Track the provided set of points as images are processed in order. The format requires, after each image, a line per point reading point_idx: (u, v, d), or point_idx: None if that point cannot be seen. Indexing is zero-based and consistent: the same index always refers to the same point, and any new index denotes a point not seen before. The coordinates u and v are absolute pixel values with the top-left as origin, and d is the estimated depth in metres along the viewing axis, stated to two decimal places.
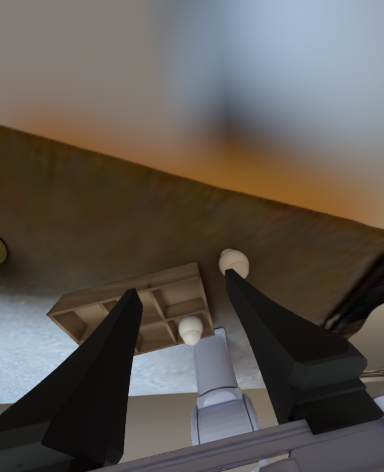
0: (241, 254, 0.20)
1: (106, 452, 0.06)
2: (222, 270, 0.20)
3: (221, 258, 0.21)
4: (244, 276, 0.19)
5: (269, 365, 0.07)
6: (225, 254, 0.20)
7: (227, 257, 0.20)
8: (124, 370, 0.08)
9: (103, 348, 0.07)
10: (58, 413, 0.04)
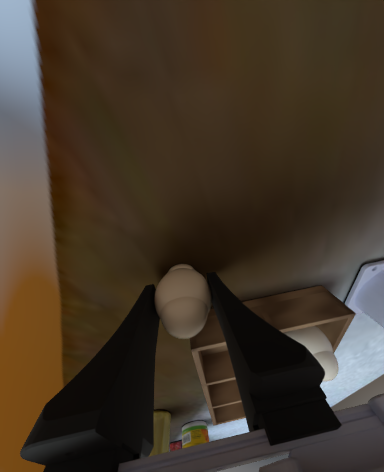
0: (156, 295, 0.10)
1: (141, 444, 0.06)
2: None
3: None
4: (187, 327, 0.08)
5: (238, 372, 0.07)
6: None
7: None
8: (149, 364, 0.08)
9: (133, 341, 0.07)
10: (106, 402, 0.04)
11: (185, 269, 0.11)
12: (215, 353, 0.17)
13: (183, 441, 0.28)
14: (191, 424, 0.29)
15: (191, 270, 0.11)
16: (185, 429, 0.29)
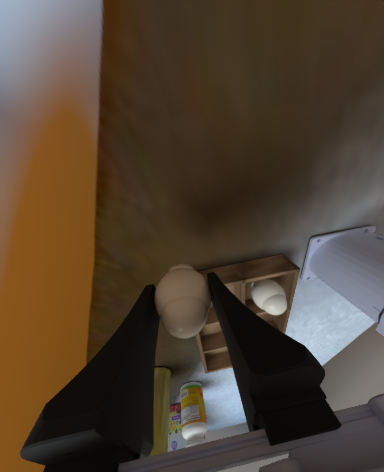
0: (156, 295, 0.10)
1: (141, 444, 0.06)
2: None
3: None
4: (187, 327, 0.08)
5: (238, 372, 0.07)
6: None
7: None
8: (149, 364, 0.08)
9: (133, 341, 0.07)
10: (105, 402, 0.04)
11: (185, 269, 0.11)
12: None
13: (181, 397, 0.34)
14: (188, 383, 0.35)
15: (191, 270, 0.11)
16: (183, 388, 0.35)
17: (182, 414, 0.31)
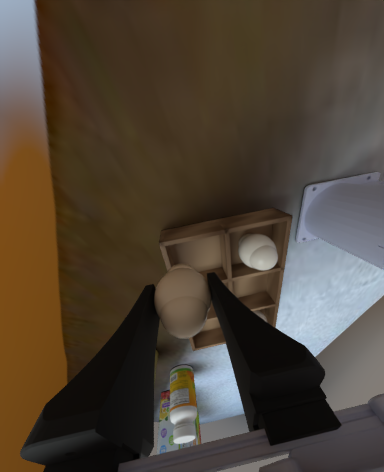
0: (155, 295, 0.10)
1: (141, 444, 0.06)
2: None
3: None
4: (187, 327, 0.08)
5: (238, 372, 0.07)
6: None
7: None
8: (149, 364, 0.08)
9: (133, 341, 0.07)
10: (105, 402, 0.04)
11: (185, 269, 0.11)
12: None
13: (170, 381, 0.32)
14: (178, 367, 0.33)
15: (191, 270, 0.11)
16: (172, 371, 0.32)
17: (170, 398, 0.29)
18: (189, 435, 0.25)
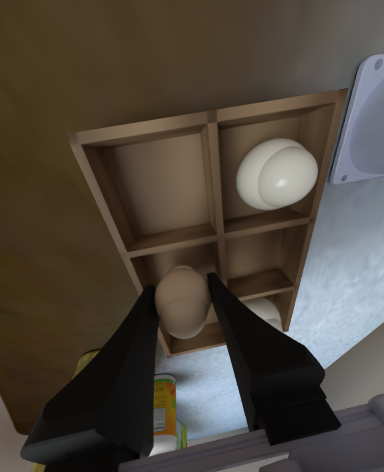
0: (156, 295, 0.10)
1: (141, 444, 0.06)
2: None
3: None
4: (187, 327, 0.08)
5: (238, 372, 0.07)
6: None
7: None
8: (149, 364, 0.08)
9: (133, 341, 0.07)
10: (105, 402, 0.04)
11: (185, 269, 0.11)
12: (154, 233, 0.12)
13: None
14: (155, 377, 0.24)
15: (191, 270, 0.11)
16: None
17: None
18: None
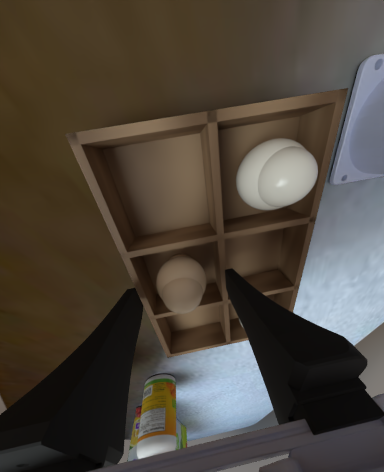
0: (157, 278, 0.11)
1: (106, 452, 0.06)
2: None
3: None
4: (184, 302, 0.10)
5: (269, 365, 0.07)
6: None
7: None
8: (124, 370, 0.08)
9: (103, 348, 0.07)
10: (58, 413, 0.04)
11: (183, 256, 0.12)
12: (154, 233, 0.12)
13: (143, 396, 0.23)
14: (155, 377, 0.24)
15: (188, 257, 0.12)
16: (147, 383, 0.24)
17: (140, 422, 0.21)
18: None
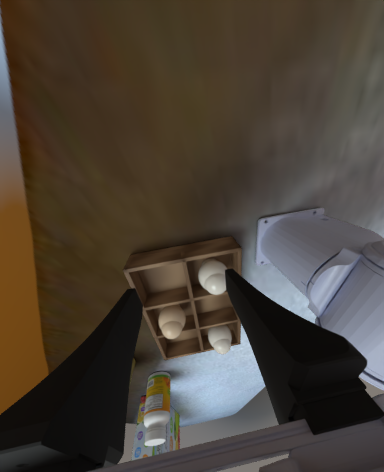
0: (159, 319, 0.22)
1: (106, 452, 0.06)
2: None
3: None
4: (172, 334, 0.20)
5: (269, 365, 0.07)
6: None
7: None
8: (124, 370, 0.08)
9: (102, 348, 0.07)
10: (58, 413, 0.04)
11: (173, 306, 0.22)
12: (157, 292, 0.23)
13: (147, 386, 0.34)
14: (155, 373, 0.35)
15: (176, 306, 0.22)
16: (150, 377, 0.34)
17: (146, 403, 0.31)
18: (159, 438, 0.27)
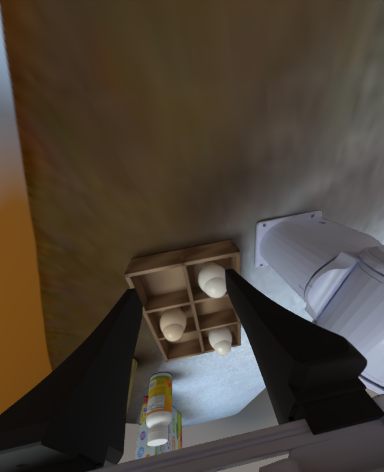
0: (160, 322, 0.22)
1: (106, 452, 0.06)
2: None
3: None
4: (174, 337, 0.20)
5: (269, 365, 0.07)
6: None
7: None
8: (124, 370, 0.08)
9: (102, 348, 0.07)
10: (58, 413, 0.04)
11: (174, 309, 0.23)
12: (158, 295, 0.23)
13: (150, 387, 0.34)
14: (157, 374, 0.35)
15: (177, 309, 0.23)
16: (152, 378, 0.35)
17: (148, 404, 0.32)
18: (161, 438, 0.27)
